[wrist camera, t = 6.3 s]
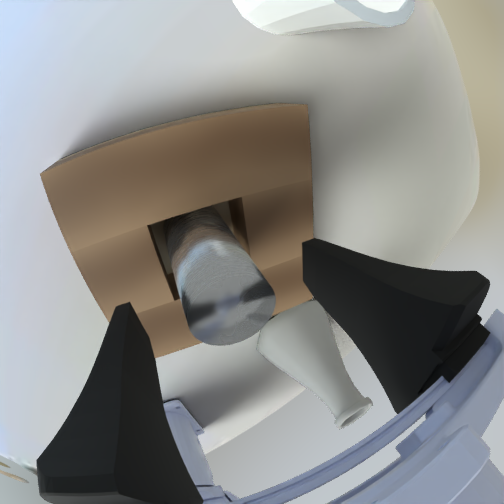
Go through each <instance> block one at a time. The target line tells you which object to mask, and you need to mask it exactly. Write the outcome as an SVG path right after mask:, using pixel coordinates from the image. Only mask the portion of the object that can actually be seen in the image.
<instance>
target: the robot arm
mask: <svg viewBox="0 0 504 504" xmlns="http://www.w3.org/2000/svg"><path fill="white" fill-rule="evenodd" d="M302 263H303V282H304V283H305V285H306V286H307V288H308V289H309V291H310V292H311V294H312V295H313V296H314V298H315V299H316V300H317V301H318V302H319V304H320V305H321V306H322V307H323V308H324V309H325V310H326V311H327V312H328V313H329V314H330V315H331V317H332V318H333V319H334V320H335V321H336V322H337V323H338V324H339V325H340V326H341V327H342V328H343V330H344V331H345V332H346V333H347V334H348V335H349V336H350V338H351V339H352V340H353V342H354V343H355V344H356V346H357V347H358V349H359V350H360V351H361V353H362V354H363V355H364V357H365V359H366V360H367V362H368V363H369V365H370V366H371V368H372V369H373V371H374V373H375V374H376V376H377V378H378V379H379V381H380V383H381V385H382V386H383V388H384V390H385V392H386V394H387V396H388V398H389V400H390V401H391V404H392V406H393V408H394V410H395V412H396V413H397V414H398V415H396V416H395V417H394V418H393V419H391V420H390V421H389V422H387V423H386V424H385V425H383V426H382V427H380V428H379V429H378V430H376V431H375V432H373V433H372V434H370V435H369V436H367V437H366V438H364V439H363V440H361V441H360V442H359V443H357V444H355V445H354V446H352V447H350V448H349V449H347V450H346V451H344V452H342V453H340V454H339V455H337V456H335V457H334V458H332V459H330V460H328V461H326V462H324V463H323V464H321V465H319V466H317V467H315V468H313V469H311V470H309V471H307V472H305V473H303V474H301V475H299V476H297V477H294V478H292V479H290V480H288V481H286V482H283V483H281V484H279V485H276V486H274V487H271V488H269V489H266V490H264V491H261V492H258V493H256V494H253V495H250V496H247V497H244V498H241V499H239V498H238V497H237V496H236V495H234V494H232V493H231V492H229V491H223V490H222V487H221V486H220V485H219V486H215V485H214V483H213V478H212V477H213V476H212V472H211V469H210V467H209V465H208V462H207V460H206V457H205V455H204V452H203V449H202V447H201V444H200V441H199V439H198V436H197V435H200V434H203V433H204V429H203V428H202V427H201V426H200V425H199V424H198V422H197V421H196V420H195V419H194V418H193V416H192V415H191V414H190V413H189V411H188V410H187V409H186V408H185V406H184V405H183V404H182V403H181V401H179V400H173V401H170V402H166V403H163V400H162V395H161V390H160V384H159V379H158V373H157V367H156V361H155V356H154V353H153V349H152V345H151V342H150V338H149V336H148V334H147V332H146V330H145V329H144V327H143V325H142V323H141V321H140V320H139V318H138V316H137V314H136V312H135V310H134V308H133V307H132V305H131V303H130V302H127V303H124V304H121V305H118V306H116V307H115V309H114V312H113V315H112V317H111V320H110V323H109V326H108V329H107V331H106V334H105V337H104V340H103V342H102V345H101V348H100V351H99V353H98V356H97V358H96V361H95V363H94V366H93V368H92V371H91V373H90V375H89V378H88V380H87V382H86V384H85V386H84V388H83V390H82V392H81V394H80V396H79V398H78V399H77V401H76V403H75V405H74V407H73V408H72V410H71V412H70V414H69V416H68V417H67V419H66V420H65V422H64V424H63V425H62V427H61V428H60V430H59V431H58V433H57V434H56V436H55V437H54V438H53V440H52V441H51V443H50V444H49V445H48V446H47V448H46V449H45V450H44V452H43V453H42V454H41V455H40V457H39V458H38V459H37V475H38V485H39V493H40V496H41V497H42V498H43V499H44V500H46V501H48V502H50V503H53V504H284V503H286V502H288V501H291V500H293V499H295V498H297V497H300V496H302V495H304V494H306V493H308V492H310V491H312V490H314V489H316V488H318V487H320V486H322V485H324V484H326V483H327V482H330V481H331V480H333V479H335V478H337V477H339V476H340V475H342V474H344V473H345V472H347V471H349V470H350V469H352V468H354V467H355V466H357V465H358V464H360V463H362V462H363V461H365V460H366V459H368V458H369V457H371V456H372V455H374V454H375V453H376V452H378V451H379V450H380V449H382V448H383V447H385V446H386V445H387V444H389V443H390V442H392V441H393V440H394V439H395V438H397V437H398V436H399V435H401V434H402V433H403V432H404V431H405V430H407V429H408V428H409V427H410V426H412V425H413V424H414V423H415V422H416V421H417V420H419V419H420V418H421V417H422V416H423V415H424V414H425V413H426V412H427V413H426V420H425V421H424V422H423V423H422V424H421V425H420V426H418V427H417V428H416V429H415V430H414V431H413V432H412V433H411V434H410V435H409V436H408V437H406V438H405V439H404V440H403V441H402V442H401V443H399V444H398V445H397V446H396V450H397V451H398V452H399V453H400V455H401V456H400V457H399V458H398V459H396V460H395V461H394V462H392V463H391V464H390V465H388V466H387V467H386V468H384V469H383V470H381V471H380V472H378V473H377V474H376V475H374V476H373V477H371V478H370V479H368V480H366V481H365V482H363V483H362V484H360V485H358V486H357V487H355V488H354V489H352V490H350V491H348V492H347V493H345V494H343V495H342V496H340V497H338V498H336V499H334V500H332V501H331V502H329V503H327V504H504V476H503V475H502V474H501V473H500V471H499V470H498V469H497V468H496V467H495V465H494V464H493V463H492V462H491V461H490V459H489V456H490V448H489V447H488V445H487V444H486V443H485V442H484V441H483V440H482V439H481V437H482V435H483V433H484V432H485V430H486V429H487V427H488V425H489V424H490V422H491V420H492V418H493V416H494V415H495V413H496V411H497V409H498V408H499V405H500V404H501V402H502V400H503V398H504V314H503V313H501V312H500V311H499V310H498V309H496V310H495V311H494V313H493V314H492V315H491V317H490V318H489V319H488V321H487V322H486V324H485V325H484V326H483V325H481V324H480V322H481V320H482V318H481V317H480V316H479V315H478V314H477V313H478V311H479V309H480V307H481V305H482V303H483V301H484V299H485V297H486V295H487V292H488V290H489V287H490V281H489V280H488V279H487V278H486V277H484V276H483V275H481V274H480V273H478V272H477V271H440V270H429V269H422V268H415V267H410V266H405V265H400V264H396V263H391V262H387V261H384V260H380V259H377V258H374V257H370V256H367V255H364V254H361V253H358V252H355V251H352V250H349V249H346V248H344V247H341V246H338V245H335V244H332V243H329V242H326V241H323V240H320V239H316V238H313V239H310V240H307V241H305V242H302Z"/></svg>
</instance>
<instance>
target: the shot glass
mask: <svg viewBox="0 0 504 504" xmlns="http://www.w3.org/2000/svg"><path fill="white" fill-rule="evenodd" d="M414 2H415V0H233V3H234V4H235V6H236V7H237V9H238V10H239V12H240V13H241V15H242V16H243V17H244V18H245V19H247V20H248V21H249V22H251V23H252V24H253V25H255V26H256V27H257V28H259V29H262V30H265V31H267V32H270V33H273V34H276V35H297V34H304V33H310V32H318V31H326V30H336V29H349V28H378V27H383V28H388V27H392V26H396V25H400V24H404V23H405V22H406V21H407V19H408V18H409V17H410V15H411V14H412V12H413V11H414Z"/></svg>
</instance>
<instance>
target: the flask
mask: <svg viewBox="0 0 504 504" xmlns="http://www.w3.org/2000/svg"><path fill="white" fill-rule="evenodd" d="M257 350H258V351H259V352H260V353H261V354H262V355H263V356H264V357H265V358H266V359H267V360H268V361H270V362H271V363H272V364H273V365H275V366H276V367H277V368H279V369H280V370H282V371H283V372H285V373H286V374H287V375H289V376H290V377H292V378H293V379H295V380H296V381H297V382H299V383H300V384H301V385H303V386H304V387H305V388H307V389H308V390H310V391H311V392H313V393H314V394H315V395H316V396H317V397H318V398H319V399H320V400H321V401H322V402H323V403H324V404H325V405H326V406H327V407H328V408H329V410H330V411H331V413H332V414H333V415H334V417H335V419H336V420H335V425H336V427H337V428H339V429H342V428H344V427H346V426H348V425H350V424H351V423H353V422H355V421H356V420H357V419H359V418H360V417H362V416H363V415H364V414H365V413H366V412H367V411H368V410H369V409H370V408H371V406H372V405H373V403H372V401H371V399H370V398H368V397H366V398H364V397H363V396H362V395H361V393H360V392H359V391H358V389H357V388H356V387H355V386H354V384H353V382H352V381H351V378H350V377H349V375H348V373H347V371H346V369H345V366H344V364H343V361H342V358H341V355H340V352H339V350H338V347H337V344H336V341H335V338H334V334H333V331H332V328H331V325H330V322H329V320H328V317H327V315H326V312H325V310H324V308H323V307H322V306H321V305H320V304H319V302H318V301H317V300H314V301H309V302H304V303H302V304H299V305H297V306H295V307H292V308H290V309H288V310H285V311H283V312H281V313H279V314H278V315H276V316H275V317H274V318H272V319H271V320H269V321H268V322H267V323H266V324H265V326H264V327H263V328H262V329H261V332H260V336H259V340H258V345H257Z"/></svg>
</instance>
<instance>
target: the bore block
mask: <svg viewBox="0 0 504 504" xmlns="http://www.w3.org/2000/svg"><path fill="white" fill-rule="evenodd" d="M40 176H41V179H42V182H43V185H44V188H45V191H46V194H47V197H48V199H49V202H50V205H51V207H52V210H53V213H54V215H55V218H56V220H57V223H58V225H59V227H60V230H61V232H62V234H63V237H64V239H65V241H66V243H67V246H68V248H69V250H70V252H71V254H72V256H73V258H74V260H75V262H76V264H77V266H78V268H79V270H80V272H81V274H82V276H83V278H84V280H85V282H86V284H87V285H88V287H89V289H90V291H91V293H92V295H93V296H94V298H95V300H96V302H97V303H98V305H99V307H100V308H101V310H102V312H103V313H104V315H105V317H106V318H107V320H108V321H109V323H110V320H111V317H112V315H113V312H114V309H115V307H116V306H118V305H121V304H124V303H127V302H130V303H131V305H132V307H133V308H134V310H135V312H136V314H137V316H138V318H139V320H140V321H141V323H142V325H143V327H144V329H145V330H146V332H147V334H148V336H149V338H150V342H151V345H152V349H153V353H154V356H155V358H157V357H161V356H164V355H167V354H170V353H173V352H176V351H179V350H182V349H185V348H188V347H191V346H194V345H197V344H199V343H202V342H201V341H200V340H198V339H197V338H195V337H194V336H193V334H192V333H191V332H190V330H189V327H188V324H187V320H186V317H185V314H184V310H183V307H182V303H181V300H180V296H179V292H178V289H177V285H176V281H175V278H174V274H173V270H172V266H171V262H170V258H169V254H168V249H167V245H166V241H165V236H164V231H163V226H164V221H165V219H168V218H171V217H174V216H178V215H181V214H184V213H187V212H191V211H194V210H197V209H201V208H204V207H207V206H211V205H212V206H213V207H214V208H215V209H216V210H217V212H218V213H219V215H220V216H221V217H222V219H223V220H224V222H225V223H226V224H227V226H228V227H229V228H230V230H231V231H232V233H233V234H234V235H235V237H236V238H237V240H238V241H239V242H240V244H241V245H242V247H243V248H244V249H245V251H246V252H247V254H248V255H249V256H250V258H251V259H252V260H253V262H254V263H255V265H256V266H257V267H258V269H259V270H260V272H261V273H262V274H263V276H264V277H265V279H266V280H267V281H268V283H269V284H270V285H271V287H272V288H273V290H274V293H275V296H276V304H275V309H274V312H273V314H272V316H273V315H276V314H278V313H280V312H283V311H285V310H288V309H290V308H292V307H295V306H297V305H299V304H302V303H304V302H306V301H309V300H311V299H312V294H311V292H310V291H309V289H308V288H307V286H306V285H305V283H304V282H303V263H302V242H305V241H307V240H310V239H313V192H312V166H311V147H310V131H309V117H308V105H304V104H286V103H274V104H265V105H257V106H250V107H243V108H236V109H230V110H224V111H219V112H213V113H208V114H203V115H198V116H193V117H189V118H185V119H180V120H176V121H172V122H168V123H164V124H160V125H157V126H153V127H150V128H146V129H143V130H139V131H136V132H133V133H129V134H126V135H123V136H120V137H117V138H114V139H111V140H108V141H106V142H103V143H100V144H97V145H95V146H92V147H89V148H87V149H84V150H82V151H79V152H77V153H74V154H72V155H70V156H67V157H65V158H63V159H60V160H58V161H57V162H55V163H54V164H53V165H51V166H50V167H48V168H47V169H46V170H44V171H43V172H42V173H41V174H40Z"/></svg>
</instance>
